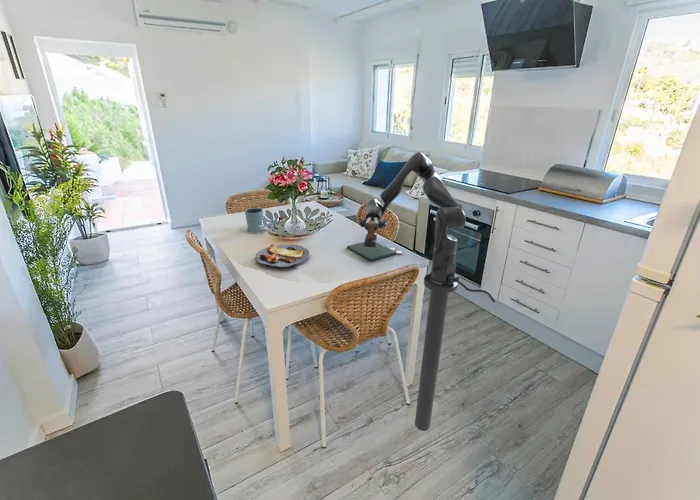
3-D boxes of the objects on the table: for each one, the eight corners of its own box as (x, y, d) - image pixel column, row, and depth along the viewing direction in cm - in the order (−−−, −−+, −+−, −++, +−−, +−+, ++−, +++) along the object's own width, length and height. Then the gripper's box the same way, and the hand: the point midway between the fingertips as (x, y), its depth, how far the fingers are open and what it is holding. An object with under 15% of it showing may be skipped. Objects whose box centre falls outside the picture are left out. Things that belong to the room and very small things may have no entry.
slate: (396, 254, 173) (396, 251, 172) (371, 261, 164) (371, 259, 164) (370, 242, 188) (371, 240, 187) (346, 248, 179) (346, 246, 179)
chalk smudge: (395, 248, 180) (395, 247, 179) (395, 251, 177) (395, 250, 177) (389, 248, 180) (389, 247, 180) (389, 250, 177) (389, 249, 177)
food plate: (245, 263, 160) (245, 256, 158) (273, 245, 179) (273, 239, 178) (293, 273, 151) (293, 266, 150) (317, 253, 171) (317, 247, 170)
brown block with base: (376, 239, 163) (377, 219, 159) (375, 247, 154) (376, 226, 150) (366, 238, 164) (366, 218, 160) (364, 246, 155) (365, 225, 151)
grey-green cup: (256, 234, 196) (254, 214, 191) (242, 231, 201) (240, 211, 196) (268, 229, 204) (266, 209, 199) (255, 226, 209) (253, 206, 204)
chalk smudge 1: (401, 251, 176) (401, 250, 175) (401, 254, 173) (402, 253, 173) (395, 251, 176) (395, 250, 176) (395, 253, 173) (395, 252, 173)
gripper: (359, 208, 168) (355, 219, 153) (388, 210, 167) (387, 221, 151) (359, 223, 171) (354, 235, 155) (387, 225, 170) (386, 237, 154)
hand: (371, 228), depth 153 cm, fingers closed on brown block with base, 3 cm apart
